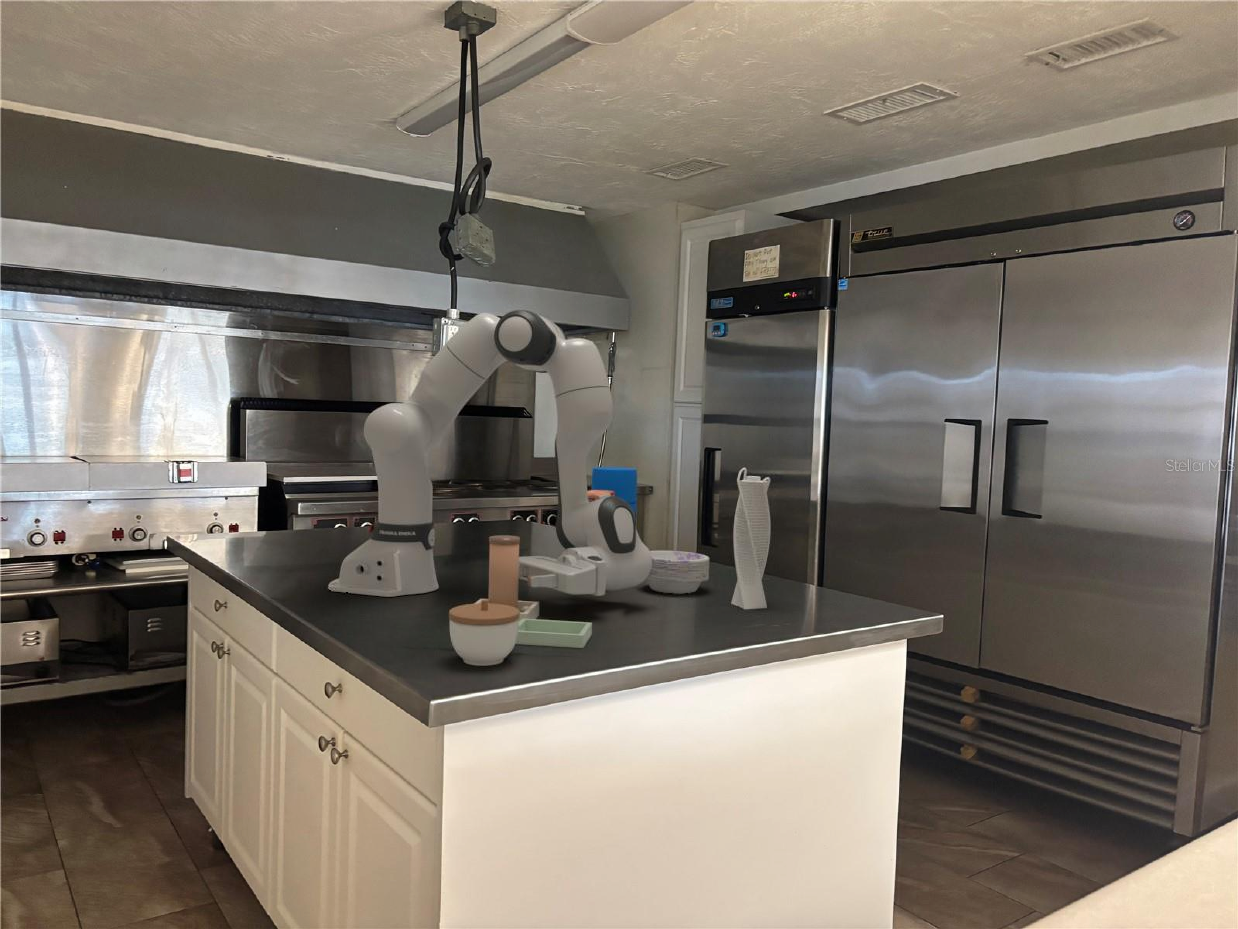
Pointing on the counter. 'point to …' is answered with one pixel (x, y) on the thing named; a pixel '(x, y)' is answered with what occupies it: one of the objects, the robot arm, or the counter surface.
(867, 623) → the counter surface
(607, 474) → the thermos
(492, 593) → the terracotta canister
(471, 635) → the lidded jar
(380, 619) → the counter surface
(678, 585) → the paper bowls
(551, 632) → the sage tray
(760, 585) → the skyscraper
